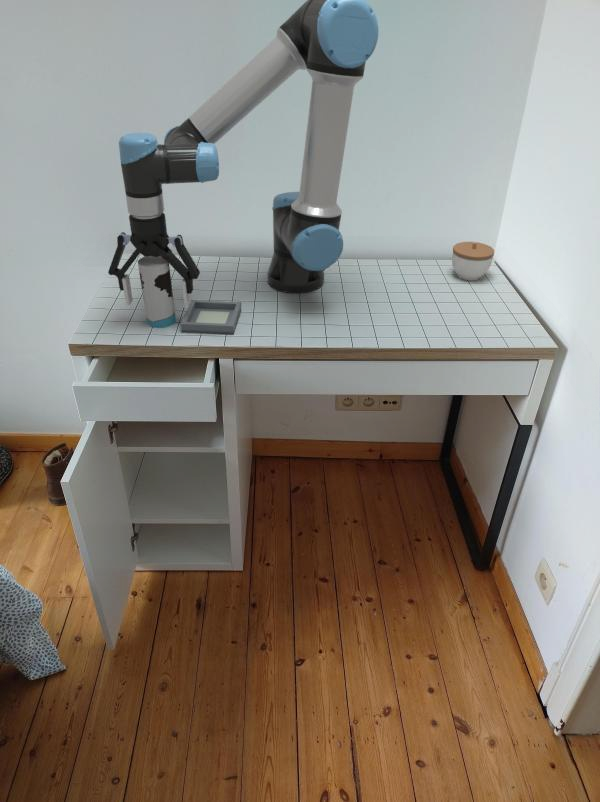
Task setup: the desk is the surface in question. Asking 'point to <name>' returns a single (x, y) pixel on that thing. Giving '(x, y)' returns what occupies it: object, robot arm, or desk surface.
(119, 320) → the desk surface
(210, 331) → the tray
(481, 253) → the lidded jar
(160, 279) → the cup
